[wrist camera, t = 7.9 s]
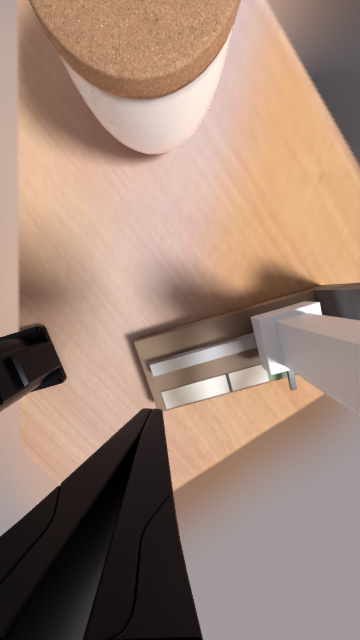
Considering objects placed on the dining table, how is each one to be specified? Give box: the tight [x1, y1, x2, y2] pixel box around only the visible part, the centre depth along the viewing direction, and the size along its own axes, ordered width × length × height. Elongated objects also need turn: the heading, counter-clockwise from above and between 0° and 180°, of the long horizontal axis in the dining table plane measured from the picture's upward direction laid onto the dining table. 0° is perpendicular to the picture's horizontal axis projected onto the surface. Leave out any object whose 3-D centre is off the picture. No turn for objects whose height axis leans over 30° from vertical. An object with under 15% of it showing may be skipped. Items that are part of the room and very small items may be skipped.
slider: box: [251, 301, 360, 417], centre depth 11 cm, size 5×8×10 cm, turn 16°
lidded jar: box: [29, 0, 240, 154], centre depth 10 cm, size 11×11×9 cm
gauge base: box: [134, 283, 360, 412], centre depth 15 cm, size 20×8×6 cm, turn 106°
